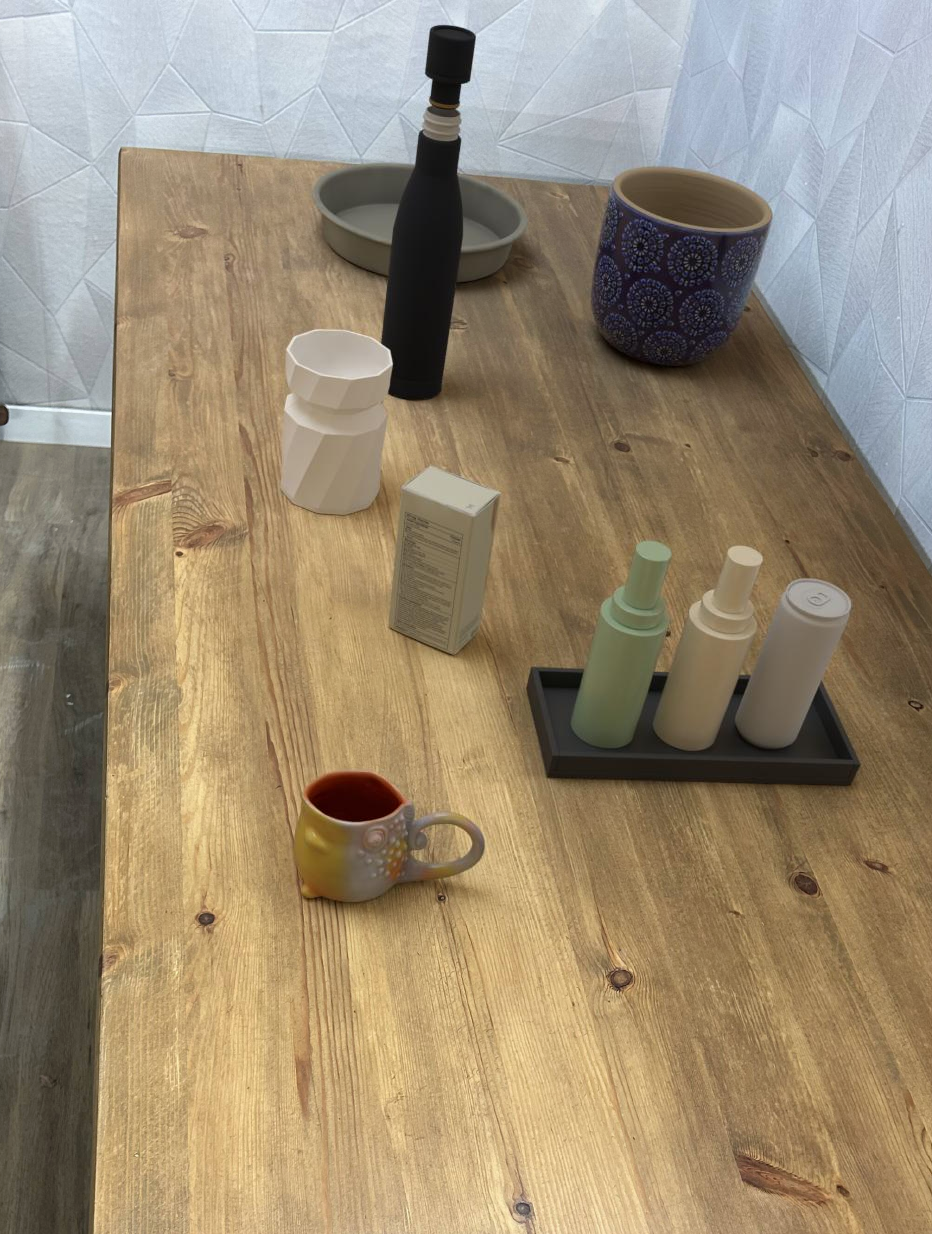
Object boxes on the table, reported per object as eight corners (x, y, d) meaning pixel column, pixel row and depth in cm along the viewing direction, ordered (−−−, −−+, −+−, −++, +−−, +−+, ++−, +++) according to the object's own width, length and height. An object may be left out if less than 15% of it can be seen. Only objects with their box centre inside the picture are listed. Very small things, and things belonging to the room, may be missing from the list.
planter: (730, 393, 139) (776, 244, 128) (573, 363, 140) (606, 211, 129) (730, 326, 151) (772, 183, 140) (584, 298, 151) (615, 153, 140)
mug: (283, 900, 85) (289, 824, 80) (301, 826, 89) (307, 750, 84) (471, 930, 85) (488, 856, 80) (479, 855, 90) (495, 780, 85)
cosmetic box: (480, 632, 106) (507, 492, 97) (453, 658, 104) (478, 517, 95) (410, 601, 108) (430, 461, 99) (382, 626, 105) (400, 484, 96)
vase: (358, 525, 114) (372, 390, 106) (263, 497, 116) (269, 361, 107) (392, 478, 120) (408, 346, 111) (301, 451, 121) (310, 319, 112)
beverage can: (720, 727, 101) (770, 591, 92) (756, 703, 103) (809, 569, 95) (771, 762, 99) (828, 626, 90) (808, 736, 101) (866, 602, 93)
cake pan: (558, 248, 159) (565, 208, 156) (452, 312, 144) (458, 269, 141) (384, 184, 166) (388, 144, 163) (266, 238, 151) (267, 195, 148)
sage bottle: (627, 707, 101) (680, 532, 90) (640, 749, 98) (697, 573, 87) (565, 705, 100) (611, 528, 89) (576, 748, 97) (625, 569, 86)
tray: (811, 699, 106) (820, 677, 104) (850, 785, 99) (861, 764, 98) (525, 688, 102) (531, 666, 101) (547, 777, 96) (552, 755, 94)
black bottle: (369, 391, 130) (406, 33, 108) (386, 363, 135) (424, 14, 113) (433, 406, 130) (483, 50, 108) (447, 377, 134) (498, 29, 112)
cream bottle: (707, 710, 102) (769, 537, 91) (722, 752, 99) (789, 578, 88) (646, 708, 101) (702, 533, 90) (660, 750, 98) (719, 574, 87)
